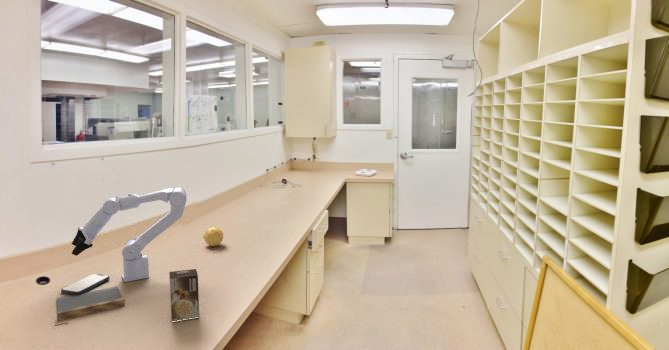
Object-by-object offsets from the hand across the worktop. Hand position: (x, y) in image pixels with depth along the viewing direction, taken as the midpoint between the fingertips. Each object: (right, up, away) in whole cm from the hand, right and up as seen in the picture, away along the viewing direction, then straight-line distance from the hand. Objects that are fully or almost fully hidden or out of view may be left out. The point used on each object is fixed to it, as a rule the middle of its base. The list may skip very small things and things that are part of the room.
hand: (74, 249), depth 161 cm
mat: (+14, -17, -13) cm, 26 cm away
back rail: (+20, -18, -21) cm, 34 cm away
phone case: (+6, -14, -1) cm, 16 cm away
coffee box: (+53, -20, -21) cm, 60 cm away
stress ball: (+41, -8, +51) cm, 66 cm away
